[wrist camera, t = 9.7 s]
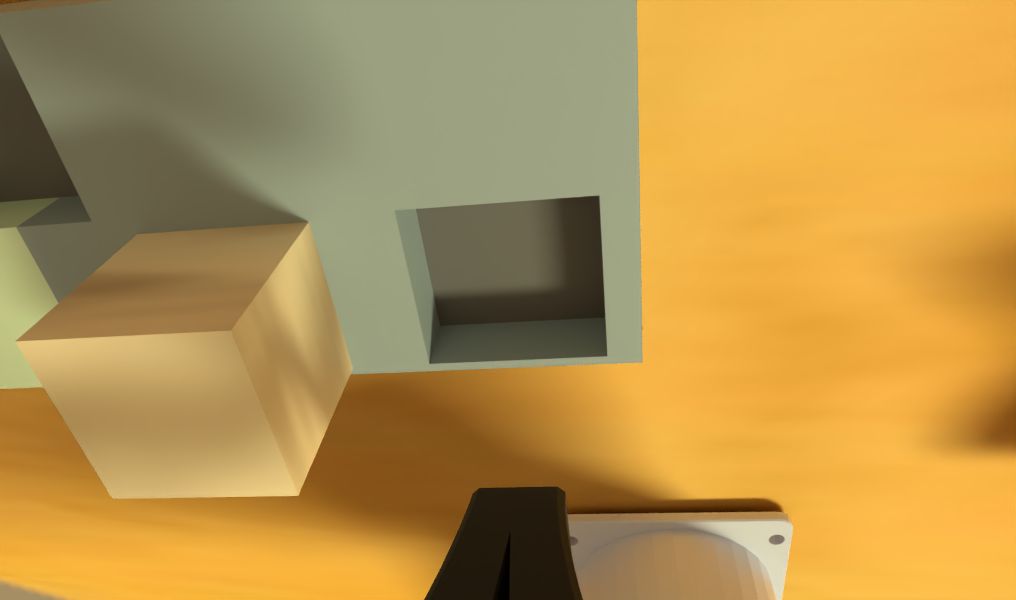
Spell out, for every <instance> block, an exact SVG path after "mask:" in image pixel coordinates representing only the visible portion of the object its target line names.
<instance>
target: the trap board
mask: <svg viewBox="0 0 1016 600" xmlns="http://www.w3.org/2000/svg"><path fill="white" fill-rule="evenodd" d="M302 222H309V224H310V227H311V231H312V234H313V237H314V241H315V244H316V247H317V251H318V254H319V257H320V261H321V264H322V267H323V271H324V274H325V277H326V280H327V284H328V287H329V290H330V294H331V297H332V300H333V304H334V307H335V310H336V314H337V317H338V320H339V324H340V327H341V330H342V334H343V337H344V340H345V343H346V347H347V350H348V353H349V357H350V360H351V363H352V367H353V369H352V372H351V374H374V373H399V372H423V371H447V370H471V369H496V368H520V367H544V366H568V365H593V364H617V363H641V362H642V301H641V238H640V176H639V114H638V51H637V0H30V1H22V2H13V3H5V4H0V389H11V388H35V387H43V386H42V384H41V383H40V381H39V379H38V378H37V376H36V375H35V373H34V371H33V370H32V368H31V367H30V365H29V363H28V362H27V360H26V358H25V357H24V355H23V354H22V352H21V350H20V349H19V347H18V346H17V344H16V342H15V341H16V340H17V339H18V338H20V337H21V336H22V335H23V334H24V333H25V332H26V331H28V330H29V329H30V328H31V327H32V326H33V325H34V324H36V323H37V322H38V321H39V320H40V319H41V318H42V317H44V316H45V315H46V314H47V313H48V312H49V311H50V310H51V309H53V308H54V307H55V306H56V305H57V304H58V303H59V302H61V301H62V300H63V299H64V298H65V297H66V296H67V295H69V294H70V293H71V292H72V291H73V290H74V289H75V288H77V287H78V286H79V285H80V284H81V283H82V282H83V281H85V280H86V279H87V278H88V277H89V276H90V275H91V274H93V273H94V272H95V271H96V270H97V269H98V268H99V267H101V266H102V265H103V264H104V263H105V262H106V261H107V260H109V259H110V258H111V257H112V256H113V255H114V254H115V253H117V252H118V251H119V250H120V249H121V248H122V247H123V246H125V245H126V244H127V243H128V242H129V241H130V240H131V239H132V238H134V237H135V236H136V235H137V234H148V233H162V232H176V231H190V230H204V229H218V228H232V227H246V226H260V225H274V224H288V223H302Z"/></svg>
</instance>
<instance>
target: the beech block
mask: <svg viewBox="0 0 1016 600" xmlns="http://www.w3.org/2000/svg"><path fill="white" fill-rule="evenodd" d="M15 342H16V344H17V346H18V347H19V349H20V350H21V352H22V354H23V355H24V357H25V358H26V360H27V362H28V363H29V365H30V367H31V368H32V370H33V371H34V373H35V375H36V376H37V378H38V379H39V381H40V383H41V384H42V386H43V388H44V389H45V391H46V392H47V394H48V396H49V397H50V399H51V400H52V402H53V404H54V405H55V407H56V408H57V410H58V412H59V413H60V415H61V417H62V418H63V420H64V421H65V423H66V425H67V426H68V428H69V429H70V431H71V433H72V434H73V436H74V438H75V439H76V441H77V442H78V444H79V446H80V447H81V449H82V450H83V452H84V454H85V455H86V457H87V459H88V460H89V462H90V463H91V465H92V467H93V468H94V470H95V471H96V473H97V475H98V476H99V478H100V479H101V481H102V483H103V484H104V486H105V488H106V489H107V491H108V492H109V494H110V496H111V497H112V499H135V498H195V497H255V496H298V495H299V493H300V491H301V488H302V486H303V484H304V481H305V479H306V477H307V474H308V472H309V470H310V467H311V465H312V463H313V460H314V458H315V456H316V453H317V451H318V449H319V446H320V444H321V442H322V439H323V437H324V435H325V432H326V430H327V428H328V425H329V423H330V421H331V418H332V416H333V414H334V411H335V409H336V407H337V404H338V402H339V400H340V397H341V395H342V393H343V390H344V388H345V386H346V383H347V381H348V379H349V376H350V374H351V372H352V369H353V367H352V363H351V360H350V357H349V353H348V350H347V347H346V343H345V340H344V337H343V334H342V330H341V327H340V324H339V320H338V317H337V314H336V310H335V307H334V304H333V300H332V297H331V294H330V290H329V287H328V284H327V280H326V277H325V274H324V271H323V267H322V264H321V261H320V257H319V254H318V251H317V247H316V244H315V241H314V237H313V234H312V231H311V227H310V224H309V222H302V223H288V224H274V225H260V226H246V227H232V228H218V229H204V230H190V231H176V232H162V233H148V234H137V235H136V236H135V237H134V238H132V239H131V240H130V241H129V242H128V243H127V244H126V245H125V246H123V247H122V248H121V249H120V250H119V251H118V252H117V253H115V254H114V255H113V256H112V257H111V258H110V259H109V260H107V261H106V262H105V263H104V264H103V265H102V266H101V267H99V268H98V269H97V270H96V271H95V272H94V273H93V274H91V275H90V276H89V277H88V278H87V279H86V280H85V281H83V282H82V283H81V284H80V285H79V286H78V287H77V288H75V289H74V290H73V291H72V292H71V293H70V294H69V295H67V296H66V297H65V298H64V299H63V300H62V301H61V302H59V303H58V304H57V305H56V306H55V307H54V308H53V309H51V310H50V311H49V312H48V313H47V314H46V315H45V316H44V317H42V318H41V319H40V320H39V321H38V322H37V323H36V324H34V325H33V326H32V327H31V328H30V329H29V330H28V331H26V332H25V333H24V334H23V335H22V336H21V337H20V338H18V339H17V340H16V341H15Z"/></svg>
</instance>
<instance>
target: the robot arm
mask: <svg viewBox="0 0 1016 600" xmlns="http://www.w3.org/2000/svg"><path fill="white" fill-rule="evenodd" d="M792 533H793V525H792V522H791V519H790V517H789V516H788V515H787V514H785V513H783V512H700V513H622V514H567V505H566V496H565V492H564V491H563V490H561V489H560V488H558V487H516V488H479V489H478V490H477V491H475V492H474V493H473V495H472V498H471V501H470V503H469V506H468V509H467V511H466V513H465V516H464V518H463V521H462V523H461V525H460V528H459V530H458V532H457V535H456V537H455V539H454V541H453V543H452V546H451V548H450V550H449V552H448V554H447V556H446V558H445V560H444V562H443V564H442V567H441V569H440V571H439V573H438V575H437V576H436V578H435V580H434V582H433V584H432V586H431V588H430V590H429V592H428V594H427V596H426V597H425V599H424V600H782V596H783V590H784V583H785V577H786V571H787V564H788V558H789V552H790V545H791V539H792ZM570 536H572V537H570Z"/></svg>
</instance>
